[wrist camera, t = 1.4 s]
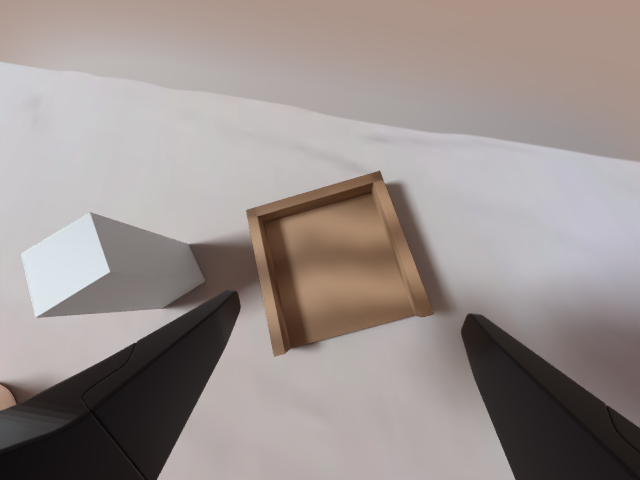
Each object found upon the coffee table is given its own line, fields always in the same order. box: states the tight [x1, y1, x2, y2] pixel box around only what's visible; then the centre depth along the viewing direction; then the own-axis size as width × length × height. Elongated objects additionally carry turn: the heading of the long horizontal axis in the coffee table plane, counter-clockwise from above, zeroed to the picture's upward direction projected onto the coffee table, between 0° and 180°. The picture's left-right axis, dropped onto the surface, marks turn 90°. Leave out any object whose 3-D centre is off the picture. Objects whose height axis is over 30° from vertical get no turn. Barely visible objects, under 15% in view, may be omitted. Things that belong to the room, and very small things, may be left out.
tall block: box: [21, 212, 205, 318], centre depth 20 cm, size 5×6×10 cm
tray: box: [246, 171, 434, 357], centre depth 23 cm, size 14×14×3 cm
